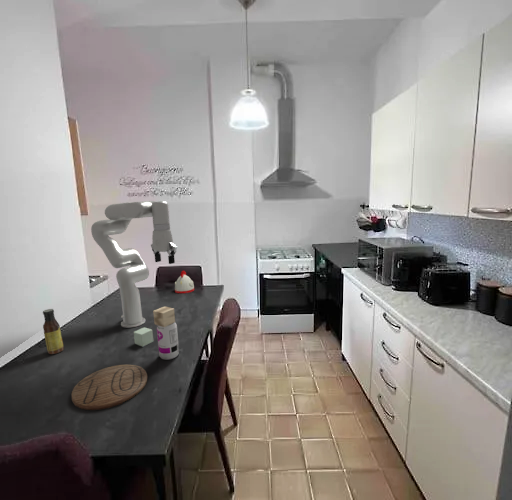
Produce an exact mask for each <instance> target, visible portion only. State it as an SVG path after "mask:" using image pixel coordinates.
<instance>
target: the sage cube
mask: <svg viewBox="0 0 512 500" xmlns="http://www.w3.org/2000/svg"><path fill="white" fill-rule="evenodd" d="M153 333H154V332H153V329H151V328H147V327H141V328H139V329H137V330H134V331H133V339H134V344H135V345H137V346H140V347H146V346H147V345H149V344H151V343H153V342H154V334H153Z"/></svg>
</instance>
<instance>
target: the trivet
mask: <svg viewBox="0 0 512 500" xmlns="http://www.w3.org/2000/svg"><path fill="white" fill-rule="evenodd" d="M147 383H148V373H147V371H146V370H145V368H143V367H142V366H140V365H136V364H117V365H112V366H109V367H105V368H102V369H99V370H97V371H94V372H92V373H90V374H89V375H86V376H85V377H84V378H82V379H81V380H80V381H78V382H77V384H76V385H74V387H73V388H72V391H71V401H72V403H73V404H74V407H77V408H79V409H80V410H86V411H99V410H105V409H110V408H113V407H116V406H119V405H122V404H124V403H126V402H127V400H128V401H130V400H131V398H135V397H136V396H137V395H138V393H139V392H140V391H141V392H142V390H144V389H145V387H146V385H147ZM141 392H140V393H141ZM135 395H136V396H135ZM129 399H130V400H129ZM125 401H126V402H125ZM123 402H124V403H123Z"/></svg>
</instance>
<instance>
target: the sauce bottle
mask: <svg viewBox="0 0 512 500" xmlns="http://www.w3.org/2000/svg"><path fill="white" fill-rule="evenodd" d="M42 315H43V317H44V323H43V325H42V328H43V335H44V339H45V340H44V341H45V346H46V350H47V353H48V354H49V355H57V354H59V353H61V352H63V351H64V341H63V336H62V331H61V327H60V323H59V322H58V321H57V319H56V318H55V311H54V308H48V309H44V310H42Z"/></svg>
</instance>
